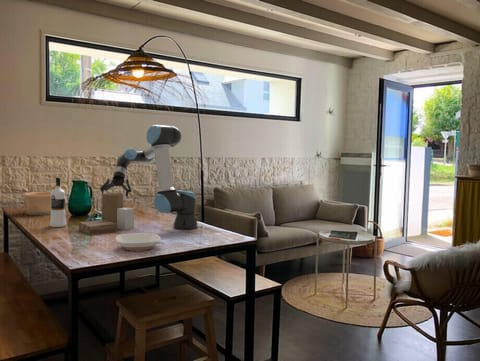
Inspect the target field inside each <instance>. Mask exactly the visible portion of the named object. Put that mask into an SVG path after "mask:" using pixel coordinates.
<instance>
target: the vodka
mask: <svg viewBox="0 0 480 361" xmlns="http://www.w3.org/2000/svg"><path fill="white" fill-rule="evenodd" d="M50 192H51V193H50V194H51V214H50V220H49V226H50V227H51V228H63V227H66V226H67V218H66V191H65V190H64V189H63V188H61V177H55V188H54V189H52V190H51V191H50Z"/></svg>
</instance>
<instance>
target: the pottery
mask: <svg viewBox="0 0 480 361" xmlns="http://www.w3.org/2000/svg"><path fill="white" fill-rule="evenodd" d="M50 193H51V191H31V192H24V193H23V194H22V195H23V196H22V197H24V199H25V206H26V211H27V215H30V216H45V215H51V194H50Z"/></svg>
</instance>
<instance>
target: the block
mask: <svg viewBox="0 0 480 361" xmlns="http://www.w3.org/2000/svg"><path fill="white" fill-rule="evenodd" d="M123 197H124V194H123V193H122V192H106V193H105V194H102V193H101V220H107V221H110V222H113V223H116V224H117V209H119V208H124V200H123Z"/></svg>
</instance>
